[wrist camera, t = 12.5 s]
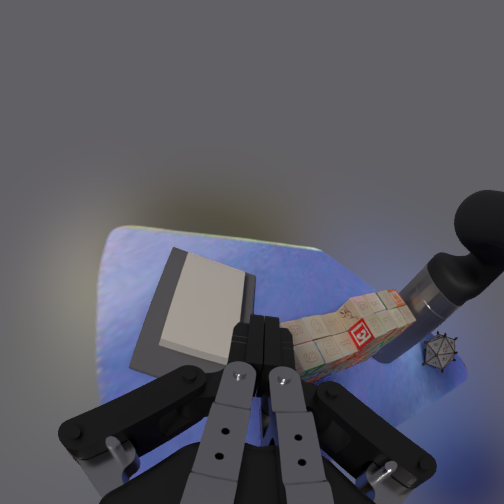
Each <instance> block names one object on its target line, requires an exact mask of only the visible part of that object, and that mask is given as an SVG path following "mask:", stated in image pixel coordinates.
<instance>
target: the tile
mask: <svg viewBox="0 0 504 504" xmlns="http://www.w3.org/2000/svg"><path fill="white" fill-rule="evenodd" d="M244 278H245V272H244V271H241V270H238V269H235V268H232V267H230V266H227V265H224V264H221V263H218V262H215V261H212V260H210V259H207V258H204V257H201V256H198V255H196V254H193V253H190V252H188V255H187V257H186V260H185V263H184V266H183V269H182V272H181V275H180V278H179V281H178V284H177V287H176V290H175V293H174V296H173V299H172V303H171V306H170V309H169V312H168V315H167V319H166V322H165V325H164V329H163V332H162V335H161V339H160V342H159V345H160V346H163V347H166V348H169V349H172V350H175V351H179V352H182V353H185V354H188V355H192V356H195V357H199V358H202V359H206V360H209V361H213V362H216V363H220V364H224V365H227V362H228V356H229V351H230V345H231V339H232V334H233V328H234V327H235V326H236V324H237V323H238V322H240V315H241V305H242V296H243V287H244Z"/></svg>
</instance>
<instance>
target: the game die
mask: <svg viewBox="0 0 504 504" xmlns="http://www.w3.org/2000/svg"><path fill="white" fill-rule="evenodd" d="M456 339H457V337H456V338H455V339H452V338H449V337H446V333H445V334H444V336H443V335H440V334H439V332H438V331H437V335H436V336H435V337H434V338H432V339H431V340H430V341H428V342H427V341H424V343H425V344H426V349H424V350H425V351H426V357H425V363H423V364H422V365H425V364H428V365H431V366H434V367H435V368H439V369H442V370H441V372H442V373H443V368H445V367H446V366H447V365H448V364H449V363H450V362H451V361H452V360H453V361H456V359H454V355H455V354H457V353H458V352H455V340H456Z"/></svg>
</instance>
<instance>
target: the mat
mask: <svg viewBox="0 0 504 504" xmlns="http://www.w3.org/2000/svg"><path fill="white" fill-rule="evenodd" d="M187 255H188V252H186V251H183V250H180V249H178V248H175V247H173V249H172V251H171V254H170V256H169V258H168V261H167V263H166V266H165V268H164V271H163V273H162V276H161V278H160V281H159V283H158V286H157V289H156V291H155V294H154V296H153V299H152V302H151V305H150V307H149V310H148V313H147V315H146V318H145V321H144V324H143V327H142V330H141V332H140V335H139V338H138V341H137V344H136V347H135V350H134V353H133V356H132V360H131V363H130V366H129V368H130V369H133V370H136V371H139V372H142V373H144V374H147V375H150V376H154V377H157V378H159V377H161V376H163V375H165V374H167V373H169V372H171V371H173V370H175V369H177V368H178V367H181V366H184V365H194V366H197V367H199V368H201V369H202V370H203V371H204V372H205V373H212V372H217V371H220V370H222V369H223V368H224V367H225V366H226V365H224V364H220V363H216V362H213V361H209V360H206V359H202V358H199V357H195V356H192V355H188V354H185V353H182V352H179V351H175V350H172V349H169V348H166V347H163V346H160V345H159V342H160V339H161V335H162V332H163V329H164V325H165V322H166V319H167V315H168V312H169V309H170V306H171V303H172V299H173V296H174V293H175V290H176V287H177V284H178V281H179V278H180V275H181V272H182V269H183V266H184V263H185V260H186V257H187ZM254 287H255V275H252V274H249V273H246V272H245V278H244V287H243V296H242V305H241V315H240V322H242V323H249V317H250V314H253V301H254Z"/></svg>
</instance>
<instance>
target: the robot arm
mask: <svg viewBox="0 0 504 504" xmlns="http://www.w3.org/2000/svg"><path fill="white" fill-rule="evenodd" d="M454 227H455V232H456V235H457V236H458V238H459V240H460V242H461V243H462V244H463V245H464V246H465V247H466V248H467V249H468V250H469V251H470V252H471V253H470V254H468V255H466V256H453V255H450V254H447V253H438V254H436V255H435V256H434V257H433V258H432V259H431V260H430V261H429V262H428V264H427V265H426V266H425V267H424V268H423V269H422V270H421V271H420V272H419V273H418V274H417V275H416V277H415V278H414V279H413V280H412V281H411V282H410V283H409V284H408V285H407V286H406V287H405V288H404V289H403V290H402V291H401V292H400V293H399V295H400V296H401V298H402V299H403V301H404V302H405V305H407V306H408V308H409V310H410V311H411V313H412V314H413V316H414V317H415V319H416V321H415V322H414V323H413V324H412V325H410V326H409V327H408V328H407V329H406V330H404V331H403V332H402V333H401V334H400V335H399V336H397V337H396V338H395V339H394V340H392V341H391V342H389V343H388V344H387V345H385V346H384V347H383V348H382V349H380V350H379V351H378V352H377V353H376V354H374V355H373V357H374V358H375V359H376V360H378V361H379V362H381V363H391V362H392V361H394V360H395V359H397V358H398V357H399V356H401V355H402V354H404V353H405V352H406V351H408V350H409V349H410V348H412V347H413V346H414V345H416V344H417V343H418V342H420V341H421V340H422V339H423V338H425V337H426V336H427V335H428V334H430V333H431V332H432V331H433V330H435V329H436V328H437V327H438V326H439V325H441V324H442V323H443V322H444V321H445V320H446V319H447V318H448V317H450V316H451V315H452V314H453V313H454V312H455V311H456V310H457V309H458V308H459V307H461V306H462V305H463V304H464V303H465V302H466V301H468V300H470V299H472V298H474V297H476V296H477V295H479V294H480V293H481V292H483V291H484V290H485V289H486V288H487V287H488V286H489V285H490V284H491V283H492V282H493V281H494V280H495V279H496V278H497V277H498V276H499V275H500V274H501V273H502V272H503V271H504V192H500V191H493V190H483V191H479V192H476V193H474V194H472V195H470V196H469V197H467V198H466V199H465V200H464V201H463V202H462V203H461V205H460V206H459V208H458V209H457V212H456V214H455V219H454ZM256 390H257V391H256ZM255 394H256V397H261V406H260V409H259V416H260V436H261V445H260V447H257V446H254V445H251V444H248V443H245V439H246V433H247V428H248V422H249V417H250V410H251V409H250V408H251V402H252V397H255ZM203 417H208V419H207V422H206V425H205V429H204V432H203V435H202V439H201V442H196V443H192V444H189V445H186V446H184V447H182V448H181V449H179V450H177V451H176V452H175V453H173V454H172V455H170V456H169V457H167V458H166V459H164V460H162V461H161V462H159V463H158V464H156V465H155V466H153V467H151V468H150V469H148V470H147V471H145V472H143V473H142V474H140V475H138V476H137V477H135V478H133V479H131V480H130V481H129V479H130V477H131V476H132V475H133V474H135V473H136V472H137V471H138V470H139V468H140V459H139V457H141V456H143V455H145V454H146V453H148V452H150V451H152V450H154V449H155V448H157V447H159V446H160V445H162V444H164V443H166V442H167V441H169V440H171V439H172V438H174V437H175V436H177V435H179V434H180V433H182V432H184V431H185V430H187V429H188V428H190V427H191V426H193V425H194V424H196V423H198V422H199V421H201V420H202V419H203ZM58 437H59V440H60V441H61V443H62V444H63V445H64V447H65V448H66V449H67V451H68V453H69V454H70V455H71V456H72V457H73V459H74V460H75V461H76V462H77V463H78V464H79V465H80V466H81V467H82V469H83V471H84V472H85V474H86V475H87V477H88V478H89V480H90V481H91V482H92V484H93V486H94V487H95V489H96V490H97V491H98V493H99V494H100V496H101V497H102V499H101V501H100V503H99V504H402V503H403V502H404V500H405V499H406V498H407V497H408V495H409V494H410V493H411V492H412V490H413V489H415V488H417V487H418V486H419V485H421V484H422V483H424V482H425V481H427V480H428V479H429V478H431V477H432V476H433V475H434V473H435V472H436V468H437V465H436V461H435V459H434V458H433V457H432V456H431V455H430V454H429V453H427V452H426V451H425V450H423V449H422V448H420V447H419V446H418V445H416V444H415V443H414V442H412V441H411V440H410V439H408V438H407V437H406V436H404V435H403V434H402V433H400V432H399V431H398V430H397V429H395V428H394V427H393V426H391V425H390V424H389V423H388V422H386V421H385V420H384V419H383V418H381V417H380V416H379V415H377V414H376V413H375V412H374V411H372V410H371V409H370V408H369V407H367V406H366V405H365V404H364V403H362V402H361V401H360V400H359V399H357V398H356V397H355V396H354V395H353V394H351V393H350V392H349V391H348V390H347V389H345V388H344V387H343V386H342V385H340V384H338V383H336V382H332V381H327V382H323V383H321V384H320V385H319V386H316V385H313V384H310V383H307V382H305V381H303V380H302V379H301V378H300V376H299V374H298V373H297V372H296V368H295V357H294V346H293V336H292V334H291V332H290V331H289V329H288V328H281V327H280V325H279V318H278V317H270V316H265V317H264V316H262V315H255V314H250V317H249V323H242V322H238V323H237V324H236V326H235V327H234V328H233V334H232V339H231V345H230V351H229V356H228V362H227V365H226V366H225V367H224V368H223V369H222V370H220V371H217V372H212V373H205V372H204V371H203V370H202V369H201V368H199V367H197V366H194V365H184V366H181V367H178V368H177V369H175V370H173V371H171V372H169V373H167V374H165V375H163V376H161V377H159V378H157V379H155V380H153V381H151V382H149V383H147V384H145V385H143V386H141V387H139V388H137V389H135V390H133V391H131V392H129V393H127V394H125V395H123V396H121V397H118V398H116V399H114V400H112V401H110V402H108V403H106V404H103V405H101V406H99V407H97V408H94V409H92V410H90V411H88V412H85V413H83V414H81V415H79V416H76V417H74V418H71V419H69V420H67V421H65V422H64V423H62V424H61V426H60V427H59V430H58ZM320 448H321V449H322V450H323V451H324V452H326V453H327V454H328V455H329V456H330V457H331V458H332V459H333V460H334V461H335V462H336V463H338V464H339V465H340V466H341V467H342V468H343V469H344V470H346V471H347V472H348V473H349V474H350V475H351V476H353V477H354V478H355V479H356V483H355V485H354V484H353V483H352V482H351V481H350V480H349V479H348V478H347V477H346V476H345V475H344V474H343V473H342V472H341V471H339V470H338V469H337V468H336V467H335V466H334V465H333V464H332V463H331V462H330V461H329V460H328V459H326V458H325V457H323V456H322V455H321V452H320Z"/></svg>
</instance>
